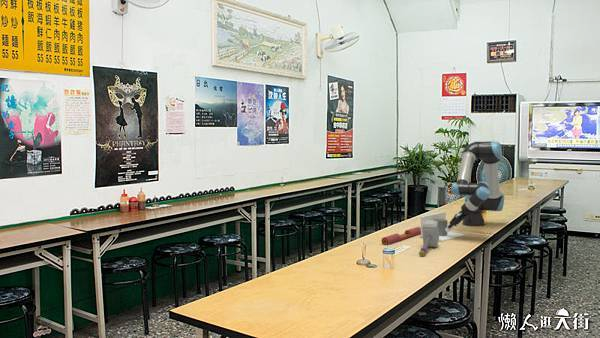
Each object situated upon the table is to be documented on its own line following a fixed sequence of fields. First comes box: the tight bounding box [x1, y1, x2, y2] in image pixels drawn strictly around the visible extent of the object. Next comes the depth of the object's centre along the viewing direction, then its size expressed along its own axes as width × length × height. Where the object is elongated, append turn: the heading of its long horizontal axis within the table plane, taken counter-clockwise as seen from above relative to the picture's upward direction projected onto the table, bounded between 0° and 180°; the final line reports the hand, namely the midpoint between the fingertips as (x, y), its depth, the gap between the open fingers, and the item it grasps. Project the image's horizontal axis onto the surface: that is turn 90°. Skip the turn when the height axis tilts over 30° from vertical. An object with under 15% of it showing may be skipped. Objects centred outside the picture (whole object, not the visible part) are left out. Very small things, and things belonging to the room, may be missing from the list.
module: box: [434, 218, 448, 236], centre depth 338 cm, size 5×7×11 cm
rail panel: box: [420, 211, 466, 243], centre depth 336 cm, size 26×16×14 cm, turn 131°
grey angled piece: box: [418, 220, 440, 257], centre depth 299 cm, size 15×8×30 cm
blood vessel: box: [381, 226, 421, 246], centre depth 333 cm, size 42×5×5 cm, turn 138°
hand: (446, 230), depth 334 cm, fingers closed
